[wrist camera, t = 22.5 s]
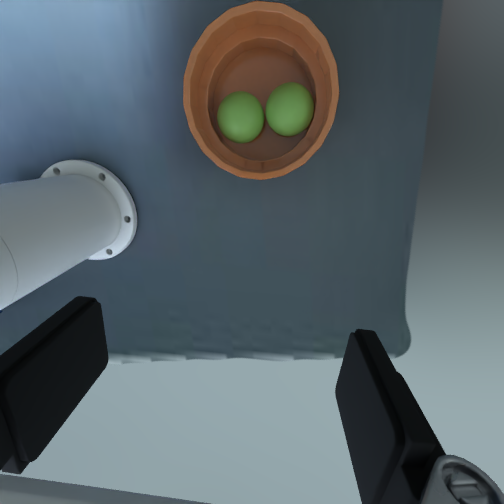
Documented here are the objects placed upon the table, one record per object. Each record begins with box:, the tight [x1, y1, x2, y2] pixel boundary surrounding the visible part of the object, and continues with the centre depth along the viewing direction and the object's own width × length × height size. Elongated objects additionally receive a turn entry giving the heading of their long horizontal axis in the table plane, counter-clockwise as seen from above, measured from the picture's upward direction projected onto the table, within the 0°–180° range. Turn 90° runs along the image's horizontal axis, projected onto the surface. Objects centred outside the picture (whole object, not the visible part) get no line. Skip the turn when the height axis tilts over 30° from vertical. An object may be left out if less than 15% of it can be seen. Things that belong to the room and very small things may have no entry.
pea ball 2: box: [266, 82, 314, 137], centre depth 26 cm, size 5×5×5 cm
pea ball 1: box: [217, 91, 264, 144], centre depth 27 cm, size 5×5×5 cm
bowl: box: [183, 1, 339, 180], centre depth 26 cm, size 13×13×6 cm
